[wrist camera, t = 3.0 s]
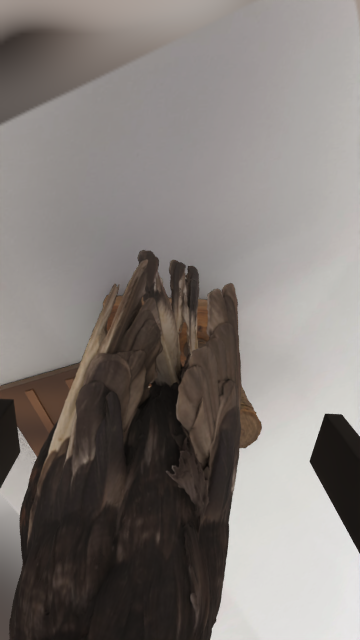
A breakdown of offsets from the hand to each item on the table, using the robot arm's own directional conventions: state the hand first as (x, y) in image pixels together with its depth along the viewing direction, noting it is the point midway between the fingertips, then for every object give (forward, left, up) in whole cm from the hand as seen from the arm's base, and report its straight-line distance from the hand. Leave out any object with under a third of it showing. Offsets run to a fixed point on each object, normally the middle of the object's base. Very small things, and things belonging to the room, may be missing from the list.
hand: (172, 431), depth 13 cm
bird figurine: (0, 0, -16) cm, 16 cm away
